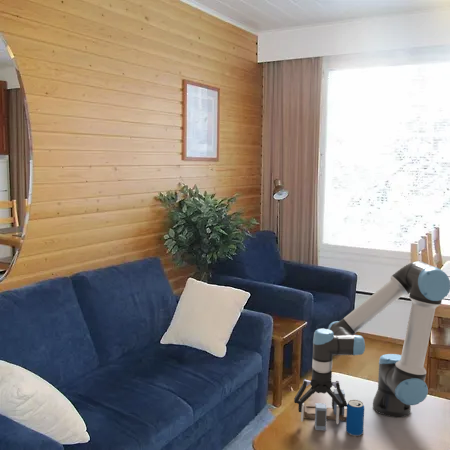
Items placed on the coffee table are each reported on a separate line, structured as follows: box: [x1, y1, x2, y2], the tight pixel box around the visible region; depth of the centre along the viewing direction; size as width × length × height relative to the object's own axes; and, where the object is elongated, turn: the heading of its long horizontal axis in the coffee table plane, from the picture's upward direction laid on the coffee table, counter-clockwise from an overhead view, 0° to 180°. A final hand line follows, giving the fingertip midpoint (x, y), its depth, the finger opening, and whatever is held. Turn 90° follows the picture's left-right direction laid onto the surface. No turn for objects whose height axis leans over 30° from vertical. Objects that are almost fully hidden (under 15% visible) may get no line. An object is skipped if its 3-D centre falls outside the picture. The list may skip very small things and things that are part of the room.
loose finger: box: [314, 402, 328, 431], centre depth 199 cm, size 5×4×9 cm
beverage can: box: [345, 399, 365, 437], centre depth 196 cm, size 6×6×12 cm
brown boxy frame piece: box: [303, 388, 347, 422], centre depth 209 cm, size 18×7×10 cm, turn 84°
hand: (319, 421), depth 200 cm, fingers open, 13 cm apart
